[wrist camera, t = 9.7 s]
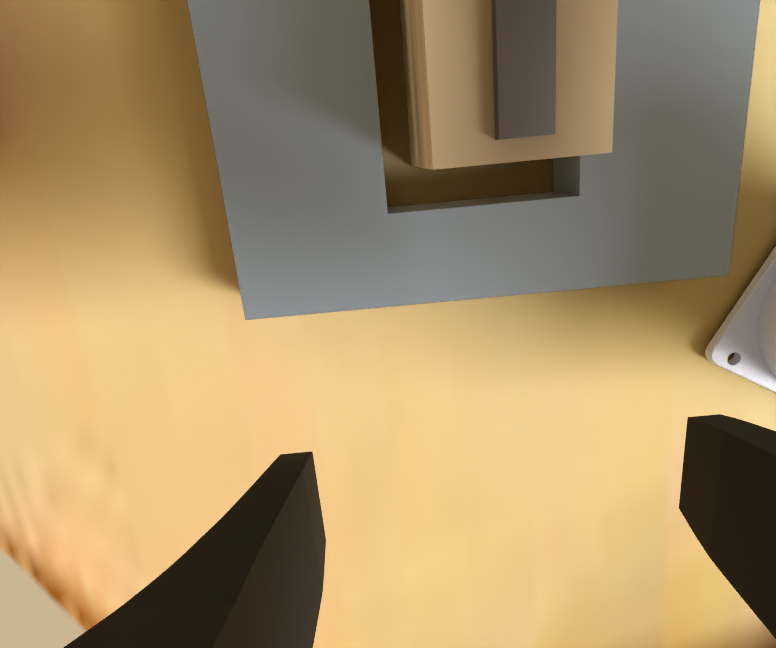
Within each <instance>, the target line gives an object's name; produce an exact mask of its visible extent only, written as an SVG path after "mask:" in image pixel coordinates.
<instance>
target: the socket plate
mask: <svg viewBox="0 0 776 648" xmlns="http://www.w3.org/2000/svg"><path fill="white" fill-rule="evenodd" d="M187 2H188V8H189V13H190V19H191V24H192V30H193V35H194V41H195V46H196V52H197V57H198V63H199V68H200V74H201V79H202V85H203V90H204V95H205V101H206V106H207V112H208V117H209V123H210V128H211V134H212V139H213V145H214V150H215V156H216V161H217V167H218V172H219V178H220V183H221V189H222V194H223V200H224V205H225V211H226V216H227V222H228V227H229V233H230V238H231V244H232V249H233V255H234V260H235V266H236V271H237V277H238V282H239V288H240V293H241V299H242V304H243V310H244V315H245V320H252V319H262V318H273V317H284V316H295V315H306V314H316V313H327V312H338V311H349V310H360V309H370V308H381V307H392V306H403V305H414V304H424V303H435V302H446V301H457V300H467V299H478V298H489V297H500V296H511V295H521V294H532V293H543V292H554V291H565V290H575V289H586V288H597V287H608V286H619V285H629V284H640V283H651V282H662V281H673V280H683V279H694V278H705V277H716V276H727V275H729V271H730V262H731V253H732V244H733V236H734V227H735V218H736V209H737V200H738V192H739V183H740V174H741V165H742V156H743V147H744V139H745V130H746V121H747V112H748V103H749V95H750V86H751V77H752V68H753V59H754V50H755V42H756V33H757V24H758V15H759V6H760V0H618V15H617V40H616V66H615V92H614V118H613V143H612V153H602V154H592V155H581V156H571V157H561V158H553V192H543V193H532V194H521V195H511V196H500V197H489V198H479V199H468V200H457V201H447V202H436V203H425V204H415V205H404V206H393V207H387V198H386V187H385V176H384V164H383V153H382V142H381V130H380V119H379V108H378V96H377V85H376V74H375V62H374V51H373V40H372V28H371V17H370V6H369V0H187Z"/></svg>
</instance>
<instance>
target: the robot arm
mask: <svg viewBox="0 0 776 648" xmlns="http://www.w3.org/2000/svg"><path fill="white" fill-rule="evenodd" d="M732 353H734V356H733V358H732V359H731V360H730V361H727V359H728V356H729V355H730V354H732ZM705 355H706V358H707V359H708V360H709V361H710V362H712V363H714V364H715V365H717V366H720V367H722V368H724V369H726V370H728V371H730V372H732V373H734V374H737V375H739V376H741V377H743V378H745V379H747V380H749V381H751V382H754V383H756V384H758V385H760V386H762V387H764V388H766V389H768V390H771V391H773V392H775V393H776V246H775V248H774V249H773V250H772V252H771V253H770V255H769V256H768V258H767V259H766V261H765V262H764V264H763V265H762V267H761V268H760V270H759V271H758V272H757V274H756V275H755V277H754V278H753V280H752V281H751V283H750V284H749V286H748V287H747V289H746V290H745V292H744V293H743V294H742V296H741V297H740V299H739V300H738V302H737V303H736V305H735V306H734V308H733V309H732V311H731V312H730V313H729V315H728V316H727V318H726V319H725V321H724V322H723V324H722V325H721V327H720V328H719V330H718V331H717V333H716V334H715V335H714V337H713V338H712V340H711V341H710V343H709V344H708V346H707V348H706V350H705ZM679 509H680V511H681V512H682V514H683V516H684V517H685V519H686V521H687V522H688V524H689V526H690V527H691V529H692V531H693V532H694V534H695V536H696V537H697V539H698V540H699V542H700V543H701V545H702V546H703V548H704V550H705V551H706V553H707V554H708V556H709V557H710V558H711V560H712V561H713V562H714V563H715V565H716V566H717V567H718V569H719V570H720V571H721V572H722V574H723V575H724V576H725V577H726V579H727V580H728V581H729V582H730V583H731V585H732V586H733V587H734V588H735V590H736V591H737V592H738V593H739V595H740V596H741V597H742V598H743V600H744V601H745V602H746V603H747V604H748V606H749V607H750V608H751V609H752V610H753V612H754V613H755V614H756V615H757V617H758V618H759V619H760V620H761V621H762V623H763V624H764V625H765V626H766V628H767V629H768V630H769V631H770V632H771V634H772V635H773V636H774V637H775V638H776V432H775V431H773V430H770V429H767V428H764V427H761V426H758V425H755V424H752V423H749V422H746V421H742V420H739V419H736V418H732V417H728V416H724V415H720V414H719V415H709V416H698V417H688V420H687V431H686V441H685V451H684V462H683V472H682V482H681V493H680V503H679ZM325 545H326V538H325V531H324V525H323V518H322V512H321V505H320V499H319V492H318V486H317V479H316V473H315V466H314V459H313V453H312V452H303V453H292V454H281V455H280V456H279V457H278V458H277V459H276V460H275V461H274V462H273V463H272V464H271V465H270V467H269V468H268V469H267V470H266V471H265V472H264V473H263V474H262V475H261V476H260V478H259V479H258V480H257V481H256V482H255V483H254V484H253V485H252V486H251V487H250V489H249V490H248V491H247V492H246V493H245V494H244V495H243V496H242V497H241V498H240V499H239V500H238V501H237V502H236V504H235V505H234V506H233V507H232V508H231V509H230V510H229V511H228V512H227V513H226V514H225V515H224V516H223V517H222V518H221V519H220V520H219V521H218V522H217V523H216V524H215V525H214V526H213V527H212V528H211V529H210V530H209V531H208V532H207V533H206V534H205V535H203V536H202V537H201V538H200V539H199V540H198V541H197V542H196V543H195V544H194V545H193V546H192V547H191V548H190V549H189V550H188V551H187V552H186V553H185V554H184V555H183V556H182V557H180V558H179V559H178V560H177V561H176V562H175V563H174V564H173V565H171V566H170V567H169V568H168V569H167V570H166V571H164V572H163V573H162V574H161V575H160V576H159V577H157V578H156V579H155V580H154V581H153V582H151V583H150V584H149V585H148V586H146V587H145V588H144V589H143V590H141V591H140V592H139V593H138V594H136V595H135V596H134V597H133V598H131V599H130V600H129V601H128V602H126V603H125V604H124V605H122V606H121V607H120V608H118V609H117V610H116V611H115V612H113V613H112V614H110V615H109V616H108V617H106V618H105V619H103V620H102V621H100V622H99V623H98V624H96V625H95V626H93V627H92V628H91V629H89V630H88V631H86V632H85V633H84V634H82V635H81V636H79V637H78V638H77V639H75V640H74V641H72V642H71V643H69V644H68V645H67V646H65V647H64V648H313V643H314V637H315V632H316V626H317V620H318V615H319V609H320V603H321V598H322V592H323V578H324V563H325Z"/></svg>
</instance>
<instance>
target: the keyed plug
mask: <svg viewBox="0 0 776 648" xmlns="http://www.w3.org/2000/svg"><path fill="white" fill-rule="evenodd" d="M399 3H400V16H401V29H402V43H403V56H404V70H405V83H406V96H407V110H408V123H409V137H410V150H411V164H412V166H413V167H419V168H425V169H431V170H436V169H446V168H457V167H467V166H478V165H488V164H498V163H509V162H519V161H529V160H540V159H550V158H561V157H571V156H581V155H592V154H602V153H612V143H613V118H614V92H615V66H616V40H617V15H618V0H399Z"/></svg>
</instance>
